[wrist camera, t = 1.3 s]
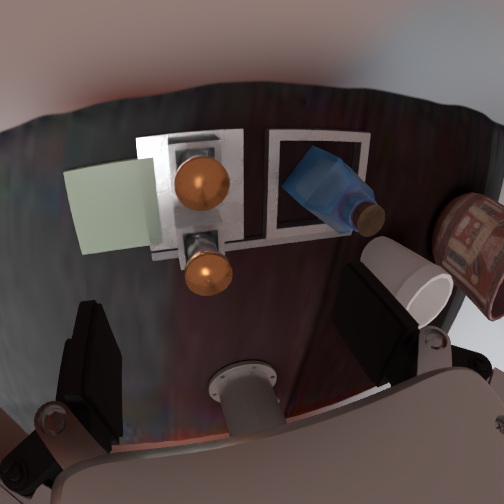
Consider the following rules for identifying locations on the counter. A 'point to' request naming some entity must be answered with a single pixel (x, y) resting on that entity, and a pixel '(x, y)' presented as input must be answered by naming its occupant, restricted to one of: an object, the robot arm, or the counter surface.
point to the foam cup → (409, 278)
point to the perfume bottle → (334, 193)
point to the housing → (234, 188)
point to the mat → (114, 205)
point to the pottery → (473, 249)
